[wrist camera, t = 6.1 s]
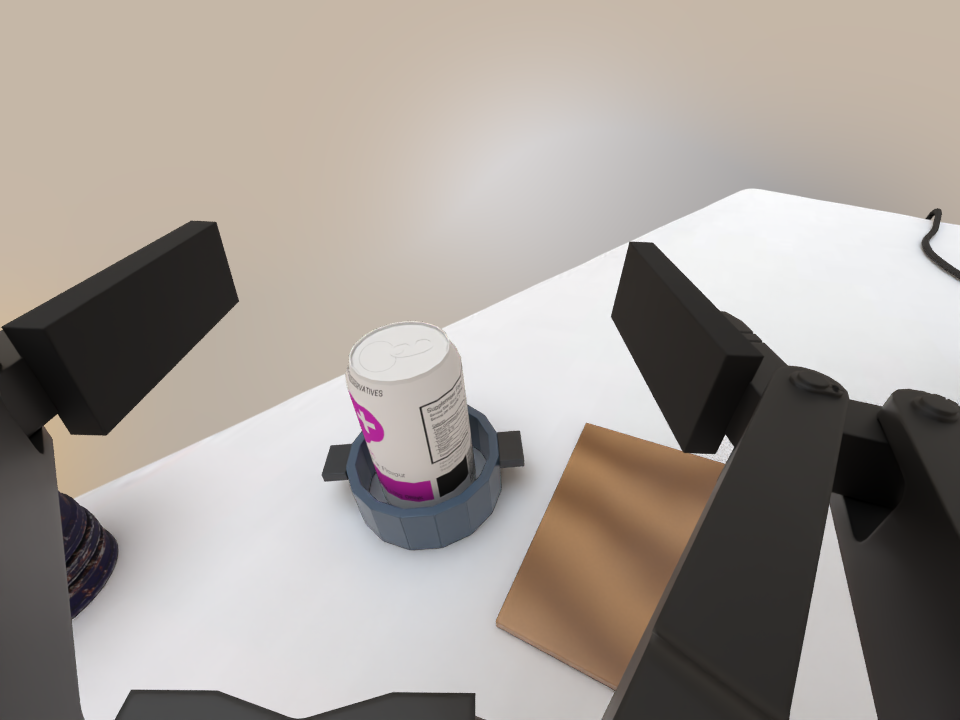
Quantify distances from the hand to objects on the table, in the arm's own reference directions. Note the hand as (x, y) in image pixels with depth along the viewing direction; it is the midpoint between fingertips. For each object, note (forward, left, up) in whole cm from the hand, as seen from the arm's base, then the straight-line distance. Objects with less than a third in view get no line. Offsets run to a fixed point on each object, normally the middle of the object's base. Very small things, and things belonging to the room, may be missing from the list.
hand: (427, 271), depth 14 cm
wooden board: (-10, +9, -26) cm, 29 cm away
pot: (-8, -9, -26) cm, 29 cm away
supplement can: (-8, -9, -26) cm, 29 cm away
